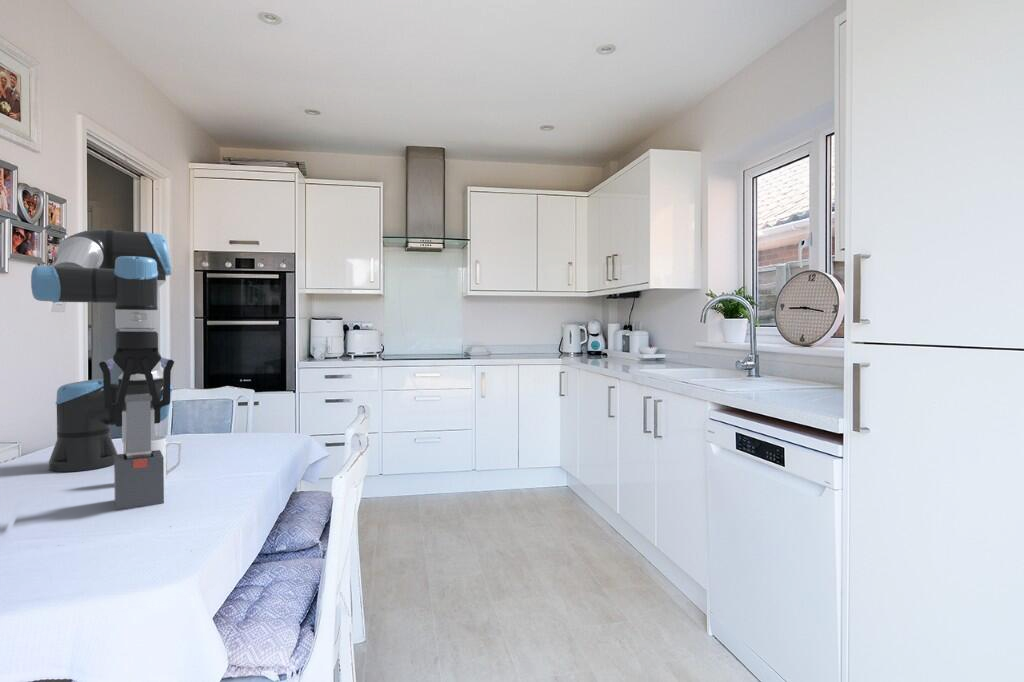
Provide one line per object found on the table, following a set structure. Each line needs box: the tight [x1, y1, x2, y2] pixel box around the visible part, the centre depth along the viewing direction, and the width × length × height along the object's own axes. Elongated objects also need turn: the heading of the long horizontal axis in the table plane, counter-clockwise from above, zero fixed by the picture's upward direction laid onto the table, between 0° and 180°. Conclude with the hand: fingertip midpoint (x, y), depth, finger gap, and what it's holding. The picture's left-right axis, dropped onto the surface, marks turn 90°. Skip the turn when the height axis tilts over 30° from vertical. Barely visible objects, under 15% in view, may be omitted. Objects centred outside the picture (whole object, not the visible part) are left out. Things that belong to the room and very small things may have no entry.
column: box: [124, 394, 152, 460], centre depth 122 cm, size 5×5×22 cm
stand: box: [113, 450, 165, 512], centre depth 122 cm, size 12×16×11 cm
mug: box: [123, 434, 182, 480], centre depth 141 cm, size 12×9×11 cm
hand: (138, 440), depth 122 cm, fingers closed on column, 4 cm apart
